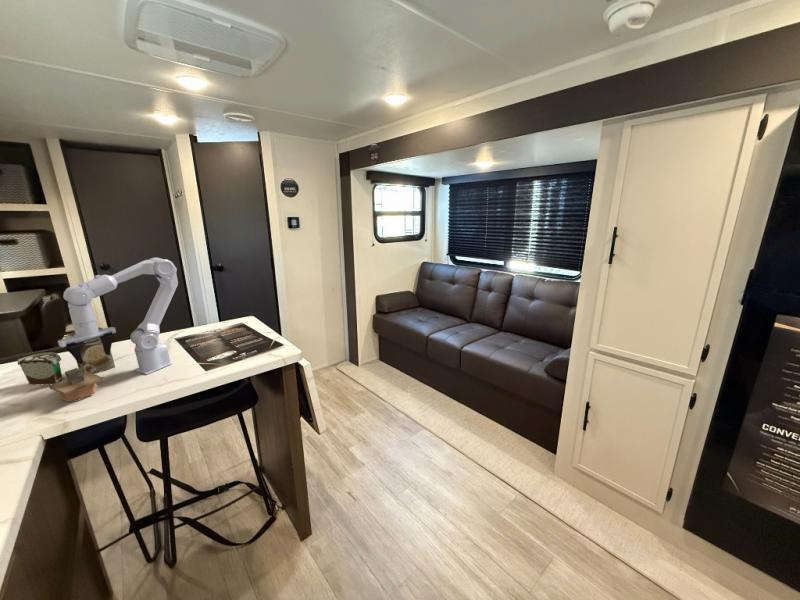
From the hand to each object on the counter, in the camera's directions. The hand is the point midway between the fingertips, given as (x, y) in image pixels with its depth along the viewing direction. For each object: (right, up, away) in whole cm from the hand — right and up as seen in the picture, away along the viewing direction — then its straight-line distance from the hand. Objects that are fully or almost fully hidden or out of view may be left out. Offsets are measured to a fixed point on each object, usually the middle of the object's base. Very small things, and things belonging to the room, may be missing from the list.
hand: (94, 358), depth 110 cm
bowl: (-2, -12, -3) cm, 12 cm away
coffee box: (-12, -7, +13) cm, 19 cm away
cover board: (-1, -8, -5) cm, 9 cm away
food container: (-21, -9, +6) cm, 24 cm away
